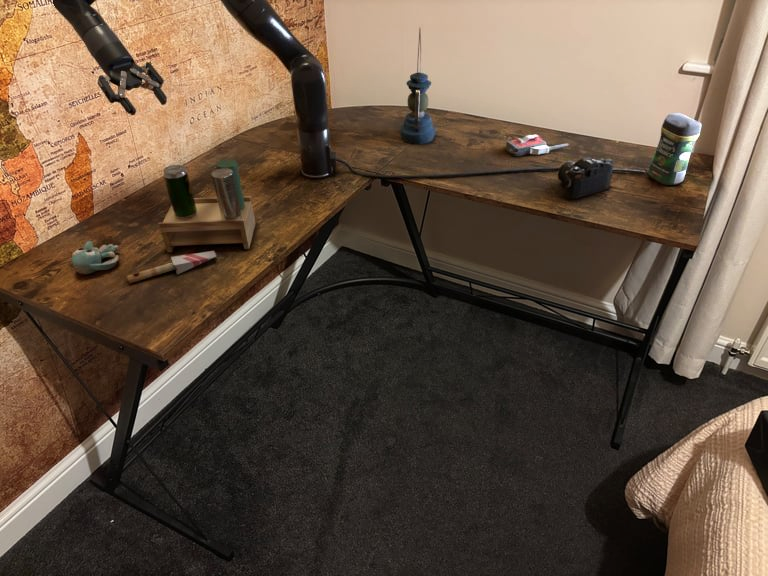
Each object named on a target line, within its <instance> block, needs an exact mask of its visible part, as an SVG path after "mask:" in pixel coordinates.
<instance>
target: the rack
mask: <svg viewBox="0 0 768 576" xmlns="http://www.w3.org/2000/svg"><path fill="white" fill-rule="evenodd" d="M215 168H216V169H214V170H213V171H212V172H211V178H212V183H213V189H214V192H215V197H214V196H213V197H194V201H195V205H196V209H197V211H196V214H195V215H194V216H193V217H191V218H188V219H179V218H177V217H176V216H175V214H174V211H173V207H172V204H171V205H170V207H169V209H168V211H167V213H166V215H165V217H164V219H163V221H162V222H161V221H159V222H158V227H159V230H160V233H161V236H162V240H163V242H164V243H163V244H164V246H165V248H166V252H167V253H173V251H174V249H175V247H178V246H199V245H224V244H226V245H227V244H242V245H243V249H244V250H250V247H251V243H252V239H253V236H254V231H255V227H256V225H257V223H256V219H255V218H256V217H255V214H254V207H253V202H252V196H251V195H245V196H244V193H243V187H242V182H241V179H240V172H239V168H238V162H237V160H236V159H233V158H222V159H219V160H218V161H217V162H216V163H215Z"/></svg>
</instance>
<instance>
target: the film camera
mask: <svg viewBox="0 0 768 576" xmlns="http://www.w3.org/2000/svg"><path fill="white" fill-rule="evenodd" d="M614 166H615V162H614V161H612V159H610V158H605V159H604V158H599V159H594V158H591V157H589V156H587V157H584V158H581V159H579V160H577V161H572V160H566V161H565V162H564V163H562V164H561V166H559V167H560V169H559V170H558V173H557V179H558V180H559V181H560V182H561V183H562V184H563V185H564V190H563V198H565V199H567V200H573V199H580V198H582V197H585V196H586V197H587V196H589V195H592V194H595V193H598V192H602V191H605V190H607V189H609V188H610V184H611V179H612V176H613V172H614V171H613V168H614Z"/></svg>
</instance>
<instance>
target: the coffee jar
mask: <svg viewBox="0 0 768 576" xmlns="http://www.w3.org/2000/svg"><path fill="white" fill-rule="evenodd" d="M701 129H702V123H701V122H700V121H697V120H695V119H693V118H691V117H689V116H687V115H685V114H682V112H676V113H670V114H668V115H666V116H665V118H664V120H663V122H662V125H661V128H660V137H659V141H658V144H657V147H656V149H655V152H654V155H653V157H652V160H651V162H650V163H649V167H648V170H647V175H648V176H649V177H650V178H652V180H654V181H656V182H658V183H659V184H662V185H665V186H666V185H667V186H676V185H678V184H681V183H683V181H684V180H685V175H686V173H687V172H686V171H687V169H688V165H689V160H690V157H691V154H692V151H693V147H694V145H695V143H696V141H697V140H698V138H699V137H700V134H701Z"/></svg>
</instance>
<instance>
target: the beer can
mask: <svg viewBox="0 0 768 576" xmlns="http://www.w3.org/2000/svg"><path fill="white" fill-rule="evenodd" d="M162 173H163V174H162V175H163V179H164V183H165V186H166V190H167V193H168V197H169V200H170V204H171V205H172V207H173V211H174V214H175V216H176V217H177V218H179V219H188V218H191V217H193V216H194V215H195V214H196V211H197V209H196V205H195V201H194V198H195V197H194V194H193V189H192V185H191V181H190V178H189V174H188V171H187V169H186V167H185V166H184V165H182V164H172V165H168V166H166V167H164V168H163V170H162Z"/></svg>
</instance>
